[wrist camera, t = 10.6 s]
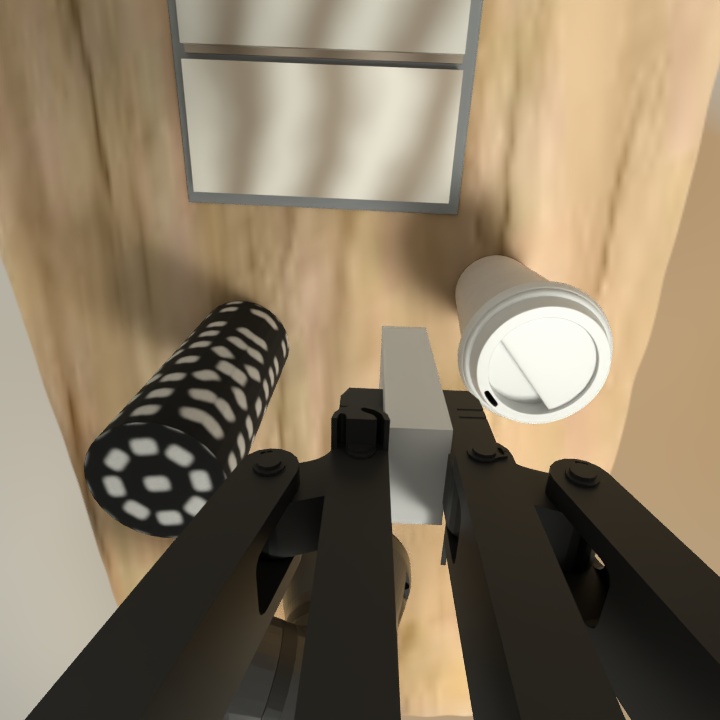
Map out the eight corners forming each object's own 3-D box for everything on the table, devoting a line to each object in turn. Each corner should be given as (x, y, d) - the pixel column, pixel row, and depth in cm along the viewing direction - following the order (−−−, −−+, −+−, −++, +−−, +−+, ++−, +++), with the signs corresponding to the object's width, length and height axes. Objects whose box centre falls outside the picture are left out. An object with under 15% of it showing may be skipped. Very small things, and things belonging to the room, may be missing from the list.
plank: (198, 190, 40) (193, 191, 39) (187, 60, 36) (181, 58, 35) (446, 201, 39) (448, 203, 38) (460, 72, 36) (463, 70, 35)
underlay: (190, 201, 41) (189, 201, 41) (154, -138, 32) (152, -141, 31) (456, 213, 40) (457, 214, 40) (497, -127, 31) (498, -129, 31)
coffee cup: (427, 252, 42) (449, 313, 28) (542, 223, 40) (622, 273, 27) (448, 351, 46) (476, 447, 32) (553, 328, 44) (629, 418, 31)
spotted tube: (280, 296, 44) (210, 416, 26) (295, 378, 48) (243, 534, 30) (190, 305, 45) (62, 427, 27) (212, 385, 48) (111, 541, 30)
